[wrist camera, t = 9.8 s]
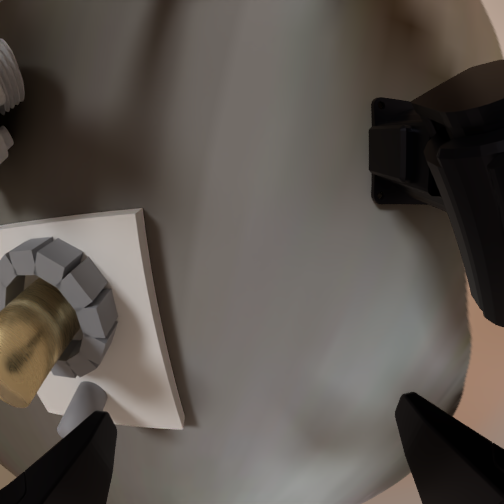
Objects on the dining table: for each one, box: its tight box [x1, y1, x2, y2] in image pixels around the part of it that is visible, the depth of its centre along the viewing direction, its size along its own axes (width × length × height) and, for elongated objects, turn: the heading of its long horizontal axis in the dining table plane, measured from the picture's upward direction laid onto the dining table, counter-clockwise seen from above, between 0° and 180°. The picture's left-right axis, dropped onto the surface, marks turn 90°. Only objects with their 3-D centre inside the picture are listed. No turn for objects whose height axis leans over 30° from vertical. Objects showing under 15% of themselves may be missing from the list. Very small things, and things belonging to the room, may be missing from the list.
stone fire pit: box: [0, 208, 185, 438], centre depth 18 cm, size 14×18×6 cm
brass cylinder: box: [0, 277, 81, 408], centre depth 14 cm, size 4×4×8 cm
